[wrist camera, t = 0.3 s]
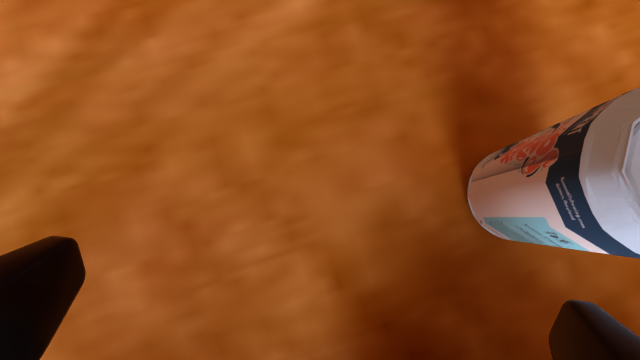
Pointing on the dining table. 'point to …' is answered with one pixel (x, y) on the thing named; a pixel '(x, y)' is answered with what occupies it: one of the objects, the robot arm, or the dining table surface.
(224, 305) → the dining table surface
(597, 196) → the beer can
